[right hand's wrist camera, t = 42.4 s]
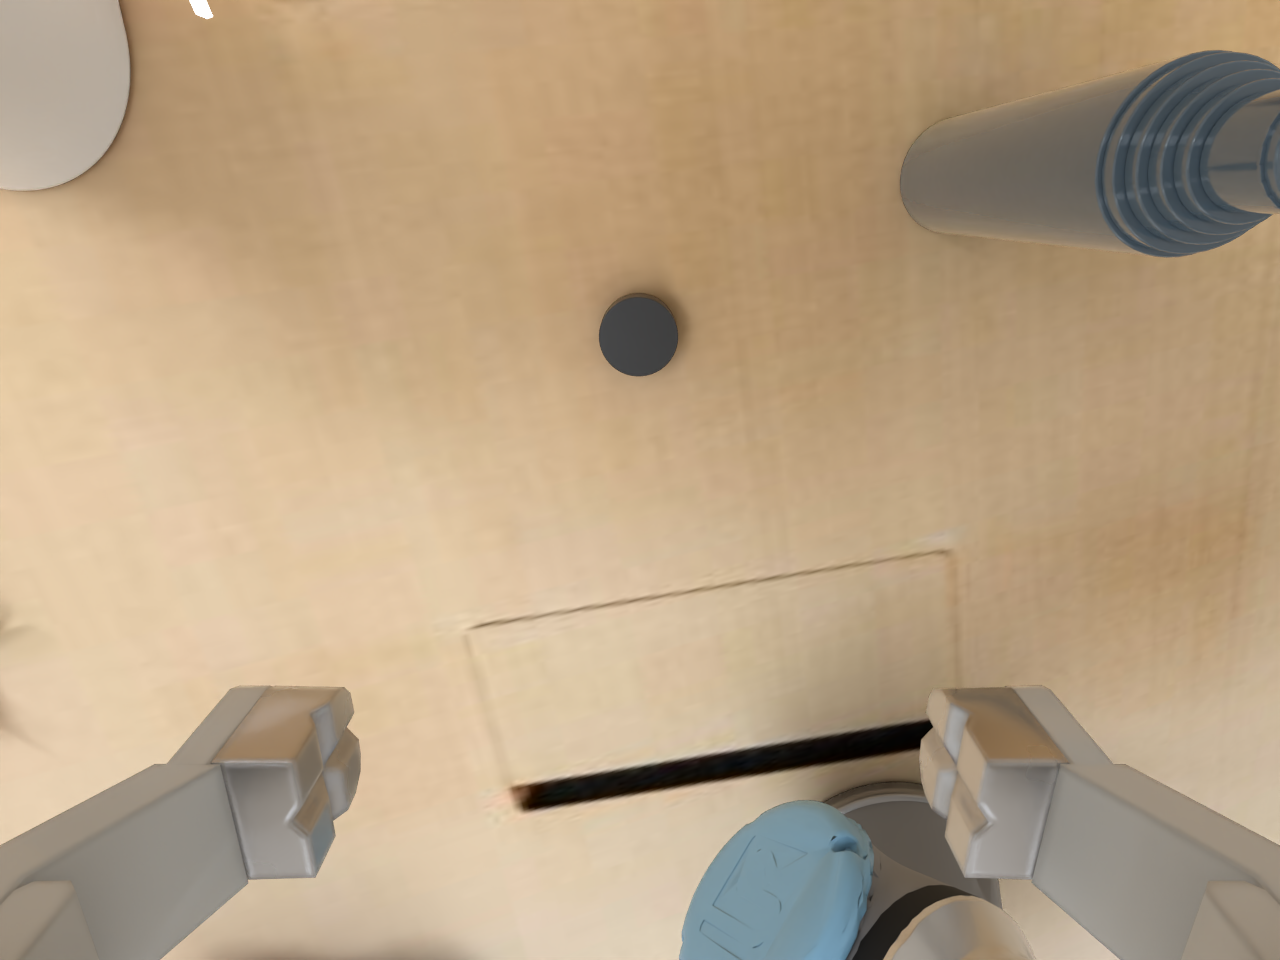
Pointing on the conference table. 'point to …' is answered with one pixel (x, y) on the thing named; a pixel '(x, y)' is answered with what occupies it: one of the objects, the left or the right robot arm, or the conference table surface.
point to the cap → (638, 335)
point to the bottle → (1111, 161)
